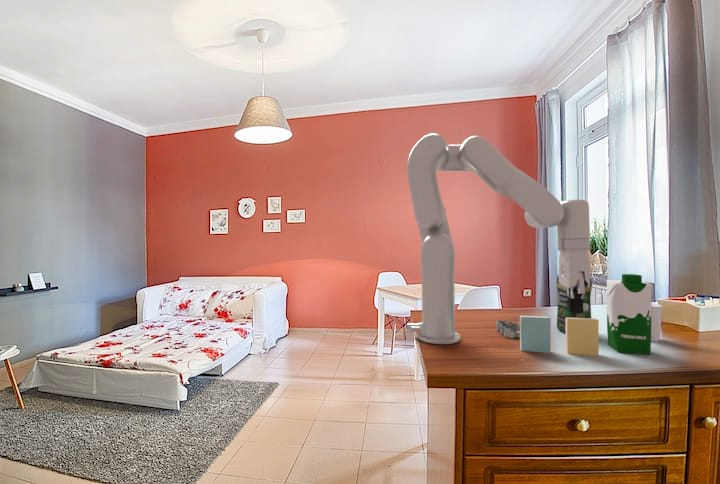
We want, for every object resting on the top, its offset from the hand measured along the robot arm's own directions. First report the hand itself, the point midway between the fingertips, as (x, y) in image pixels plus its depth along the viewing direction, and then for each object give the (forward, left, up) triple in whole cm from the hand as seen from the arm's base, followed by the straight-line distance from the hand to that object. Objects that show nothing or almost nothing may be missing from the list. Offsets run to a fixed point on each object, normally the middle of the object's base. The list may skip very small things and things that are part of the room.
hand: (575, 312), depth 94 cm
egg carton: (-15, +10, -10) cm, 20 cm away
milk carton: (+12, 0, -10) cm, 16 cm away
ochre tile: (-1, -6, -9) cm, 11 cm away
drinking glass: (+22, +12, -10) cm, 27 cm away
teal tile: (-12, -6, -9) cm, 16 cm away
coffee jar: (+4, +15, -10) cm, 18 cm away
